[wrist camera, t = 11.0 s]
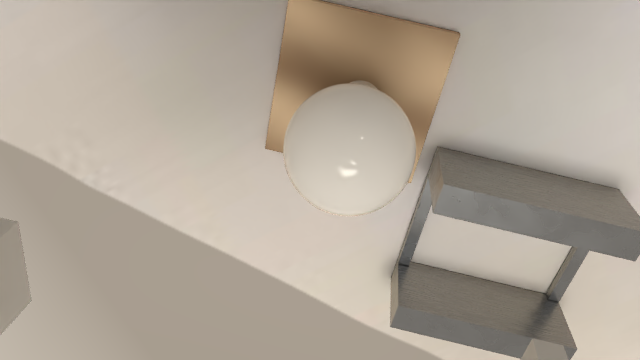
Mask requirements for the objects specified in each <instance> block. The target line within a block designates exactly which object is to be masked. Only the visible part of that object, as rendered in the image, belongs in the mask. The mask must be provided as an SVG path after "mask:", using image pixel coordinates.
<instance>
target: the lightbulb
mask: <svg viewBox="0 0 640 360" xmlns="http://www.w3.org/2000/svg"><path fill="white" fill-rule="evenodd" d="M283 156H284V163H285V167H286V171H287V174H288V176H289V178H290V180H291V182H292V184H293V186H294V187H295V189H296V190H297V191H298V192H299V194H300V195H301V196H302V197H303V198H304V199H305V200H306V201H308V202H309V203H310V204H312V205H313V206H315V207H316V208H318V209H320V210H322V211H325V212H327V213H330V214H334V215H339V216H359V215H364V214H368V213H371V212H374V211H376V210H379V209H381V208H382V207H384V206H386V205H387V204H389V203H390V202H391V201H392V200H394V199H395V198H396V197H397V196H398V195H399V194H400V192H401V191H402V190H403V189H404V187H405V186H406V184H407V182H408V180H409V178H410V176H411V174H412V171H413V168H414V164H415V158H416V141H415V135H414V131H413V128H412V125H411V123H410V121H409V119H408V117H407V115H406V113H405V112H404V111H403V109H402V108H401V107H400V106H399V104H398V103H397V102H396V101H395V100H393V99H392V98H391V97H390V96H388V95H387V94H385V93H384V92H382V91H380V90H378V89H377V88H376V87H375V86H374V85H373V84H371V83H369V82H367V81H362V80H357V81H353V82H350V83H344V84H337V85H333V86H329V87H326V88H324V89H322V90H320V91H318V92H316V93H314V94H313V95H311V96H310V97H309V98H307V99H306V100H305V101H304V102H303V103H302V104H301V105H300V106H299V107H298V109H297V110H296V111H295V113H294V114H293V116H292V118H291V119H290V122H289V124H288V126H287V129H286V132H285V137H284V144H283Z"/></svg>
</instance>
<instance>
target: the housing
mask: <svg viewBox="0 0 640 360" xmlns="http://www.w3.org/2000/svg"><path fill="white" fill-rule="evenodd" d="M431 204H432V210H433V213H434V214H439V215H443V216H447V217H451V218H455V219H460V220H464V221H468V222H472V223H476V224H481V225H485V226H489V227H493V228H497V229H502V230H506V231H510V232H514V233H518V234H523V235H527V236H531V237H535V238H539V239H544V240H548V241H552V242H556V243H560V244H565V245H569V246H573V247H572V249H571V251H570V252H569V254H568V256H567V258H566V259H565V261H564V263H563V265H562V266H561V268H560V270H559V272H558V273H557V275H556V277H555V279H554V280H553V282H552V284H551V286H550V287H549V289H548V291H547V293H546V294H543V293H539V292H534V291H530V290H526V289H522V288H518V287H514V286H509V285H505V284H501V283H497V282H493V281H489V280H484V279H480V278H476V277H472V276H468V275H464V274H460V273H455V272H451V271H447V270H443V269H439V268H435V267H430V266H426V265H422V264H418V263H414V262H410V261H411V259H412V256H413V253H414V251H415V248H416V245H417V242H418V240H419V237H420V234H421V232H422V229H423V226H424V223H425V221H426V218H427V215H428V213H429V210H430V207H431ZM589 250H590V251H594V252H598V253H602V254H606V255H611V256H615V257H619V258H623V259H627V260H632V261H636V259H637V258H638V256H639V255H640V216H639V215H638V214H637V212H636V211H635V210H634V208H633V207H632V206H631V204H630V203H629V202H628V201H627V199H626V198H625V197H624V195H623V194H622V193H621V191H620V190H619V189H615V188H611V187H607V186H602V185H598V184H594V183H590V182H585V181H581V180H577V179H573V178H568V177H564V176H560V175H556V174H551V173H547V172H543V171H539V170H534V169H530V168H526V167H522V166H518V165H513V164H509V163H505V162H501V161H496V160H492V159H488V158H484V157H479V156H475V155H471V154H467V153H462V152H458V151H454V150H450V149H445V148H441V147H437V149H436V152H435V155H434V158H433V161H432V163H431V166H430V169H429V172H428V175H427V178H426V180H425V183H424V186H423V189H422V192H421V195H420V198H419V200H418V203H417V206H416V209H415V212H414V215H413V217H412V220H411V223H410V226H409V229H408V232H407V235H406V237H405V240H404V243H403V246H402V249H401V252H400V254H399V257H398V260H397V263H396V266H395V269H394V271H393V274H392V277H391V311H390V327H393V328H397V329H401V330H405V331H409V332H413V333H417V334H421V335H426V336H430V337H434V338H438V339H442V340H446V341H450V342H454V343H459V344H463V345H467V346H471V347H475V348H479V349H483V350H487V351H491V352H496V353H500V354H504V355H508V356H512V357H516V358H520V359H521V358H522V356H523V354H524V352H525V351H526V349H527V347H528V345H529V343H530V342H531V340H532V338H533V339H537V340H542V341H546V342H551V343H555V344H559V345H563V346H564V348H565V351H566V354H567V357H568V360H570V359H571V358H572V356H573V355H574V353H575V352H576V350H577V347H576V345H575V342H574V340H573V337H572V335H571V332H570V330H569V327H568V325H567V322H566V320H565V317H564V315H563V312H562V310H561V307H560V305H559V301H560V299H561V297H562V296H563V294H564V292H565V291H566V289H567V287H568V286H569V284H570V282H571V280H572V279H573V277H574V275H575V274H576V272H577V270H578V269H579V267H580V265H581V264H582V262H583V260H584V259H585V257H586V255H587V253H588V252H589Z"/></svg>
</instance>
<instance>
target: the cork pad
mask: <svg viewBox="0 0 640 360" xmlns="http://www.w3.org/2000/svg"><path fill="white" fill-rule="evenodd" d="M459 37H460V33H459V32H455V31H450V30H446V29H442V28H438V27H433V26H429V25H425V24H420V23H416V22H412V21H407V20H403V19H399V18H394V17H390V16H386V15H381V14H377V13H373V12H368V11H364V10H360V9H356V8H351V7H347V6H343V5H338V4H334V3H330V2H325V1H321V0H288V6H287V12H286V19H285V25H284V32H283V38H282V44H281V51H280V57H279V63H278V70H277V76H276V82H275V89H274V95H273V101H272V108H271V114H270V120H269V127H268V133H267V140H266V146H265V149H269V150H273V151H277V152H282V153H283V144H284V137H285V132H286V129H287V126H288V124H289V122H290V119H291V118H292V116H293V114H294V113H295V111H296V110H297V109H298V107H299V106H300V105H301V104H302V103H303V102H304V101H305V100H306V99H307V98H309V97H310V96H311V95H313V94H314V93H316V92H318V91H320V90H322V89H324V88H326V87H329V86H333V85H337V84H344V83H350V82H353V81H357V80H362V81H367V82H369V83H371V84H373V85H374V86H375V87H376V88H377V89H378V90H380V91H382V92H384V93H385V94H387V95H388V96H390V97H391V98H392V99H393V100H395V101H396V102H397V103H398V104H399V106H400V107H401V108H402V109H403V111H404V112H405V113H406V115H407V117H408V119H409V121H410V123H411V125H412V128H413V131H414V135H415V141H416V158H415V164H414V168H413V171H412V174H411V176H410V178H409V180H408V183H411V181H412V178H413V175H414V172H415V169H416V166H417V163H418V160H419V157H420V154H421V151H422V148H423V145H424V142H425V139H426V136H427V133H428V130H429V127H430V124H431V121H432V118H433V115H434V112H435V109H436V106H437V103H438V100H439V97H440V94H441V91H442V88H443V85H444V82H445V79H446V76H447V73H448V70H449V67H450V64H451V61H452V58H453V55H454V52H455V49H456V46H457V43H458V40H459Z"/></svg>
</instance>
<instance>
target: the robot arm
mask: <svg viewBox="0 0 640 360" xmlns="http://www.w3.org/2000/svg"><path fill="white" fill-rule="evenodd" d="M30 302H31V294H30V288H29V282H28V276H27V271H26V264H25V258H24V252H23V247H22V241H21V235H20V229H19V223H18V222H17V221H13V220H9V219H4V218H0V335H1V334H2V333H3V332H4V331H5V330H6V328H7V327H8V326H9V325H10V324H11V323H12V322H13V321H14V320H15V318H16V317H17V316H18V315H19V314H20V313H21V312H22V311H23V310H24V308H25V307H26V306H27V305H28V304H29V303H30ZM520 360H568V357H567V354H566V351H565V348H564V346H563V345H559V344H555V343H551V342H546V341H542V340H537V339H533V338H532V340H531V342H530V343H529V345H528V347H527V349H526V351H525V352H524V354H523V356H522V358H521V359H520Z"/></svg>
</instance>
